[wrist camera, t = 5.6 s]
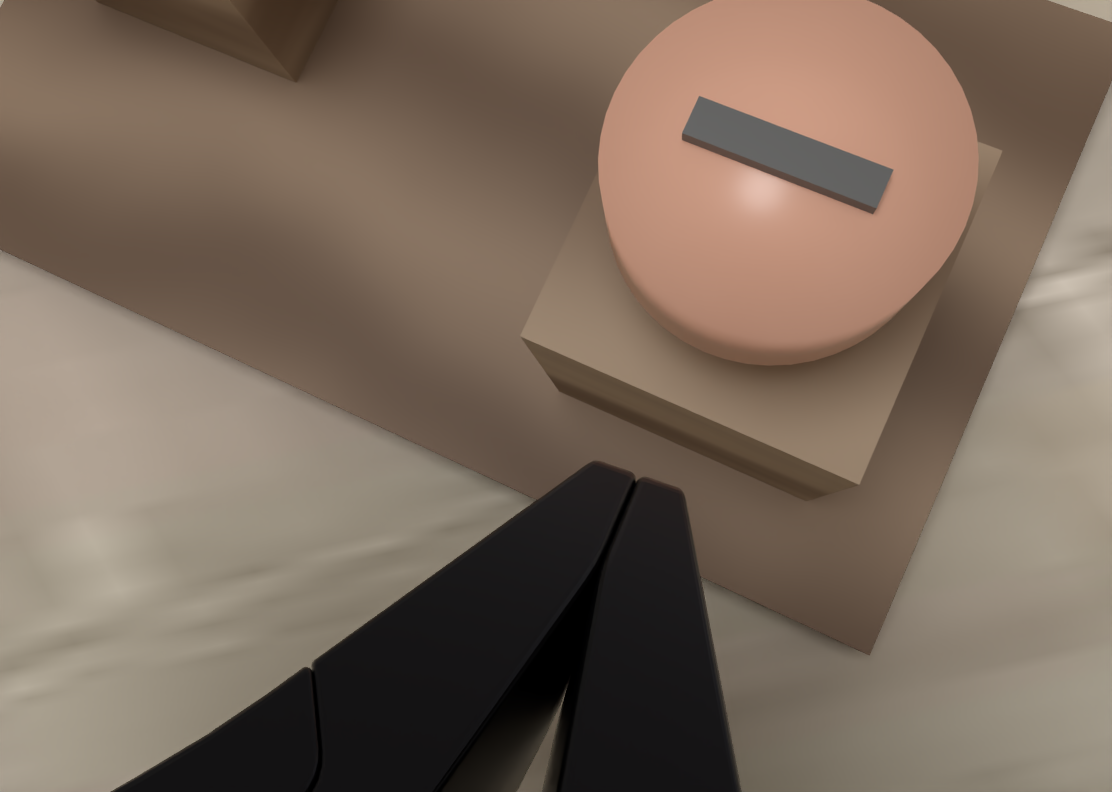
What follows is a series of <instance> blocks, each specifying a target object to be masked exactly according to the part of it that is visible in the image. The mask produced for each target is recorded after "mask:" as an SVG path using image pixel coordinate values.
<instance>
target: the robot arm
mask: <svg viewBox="0 0 1112 792" xmlns="http://www.w3.org/2000/svg"><path fill="white" fill-rule="evenodd" d="M566 689H567V690H566ZM565 691H566V693H565ZM564 694H565V697H564V701H563V704H562V708H561V712H560V716H559V720H558V724H557V728H556V732H555V736H554V741H553V745H552V750H551V754H550V759H549V763H548V768H547V772H546V777H545V781H544V786H543V790H542V792H742V791H741V786H740V781H739V775H738V770H737V765H736V760H735V754H734V749H733V744H732V739H731V733H730V728H729V723H728V718H727V712H726V707H725V702H724V697H723V692H722V686H721V681H720V676H719V671H718V665H717V660H716V655H715V650H714V644H713V639H712V634H711V629H710V623H709V618H708V613H707V608H706V602H705V597H704V592H703V587H702V581H701V576H700V571H699V566H698V561H697V555H696V550H695V545H694V540H693V534H692V529H691V524H690V519H689V513H688V508H687V503H686V498H685V495H684V493H683V491H682V490H681V489H680V488H678V487H675V486H672V485H669V484H666V483H663V482H661V481H658V480H655V479H652V478H649V477H641V478H639V479H638V480H637V482H636V477H635V475H634V474H633V472H631V471H628V470H625V469H622V468H619V467H616V466H613V465H611V464H608V463H605V462H602V461H592V462H590V463H588V464H586V465H585V466H584V467H582V468H581V469H579V470H578V471H577V472H575V473H574V474H572V475H571V476H570V477H568V478H567V479H566V480H564V481H563V482H561V483H560V484H559V485H557V486H556V487H554V488H553V489H552V490H550V491H549V492H547V493H546V494H545V495H543V496H542V497H541V498H539V499H538V500H536V501H535V502H534V503H532V504H531V505H529V506H528V507H527V508H525V509H524V510H522V511H521V512H520V513H518V514H517V515H516V516H514V517H513V518H511V519H510V520H509V521H507V522H506V523H504V524H503V525H502V526H500V527H499V528H497V529H496V530H495V531H493V532H492V533H491V534H489V535H488V536H486V537H485V538H484V539H482V540H481V541H479V542H478V543H477V544H475V545H474V546H472V547H471V548H470V549H468V550H467V551H466V552H464V553H463V554H461V555H460V556H459V557H457V558H456V559H454V560H453V561H452V562H450V563H449V564H447V565H446V566H445V567H443V568H442V569H441V570H439V571H438V572H436V573H435V574H434V575H432V576H431V577H429V578H428V579H427V580H425V581H424V582H422V583H421V584H420V585H418V586H417V587H416V588H414V589H413V590H411V591H410V592H409V593H407V594H406V595H404V596H403V597H402V598H400V599H399V600H397V601H396V602H395V603H393V604H392V605H391V606H389V607H388V608H386V609H385V610H384V611H382V612H381V613H379V614H378V615H377V616H375V617H374V618H372V619H371V620H370V621H368V622H367V623H366V624H364V625H363V626H361V627H360V628H359V629H357V630H356V631H354V632H353V633H352V634H350V635H349V636H347V637H346V638H345V639H343V640H342V641H340V642H339V643H338V644H336V645H335V646H334V647H332V648H331V649H329V650H328V651H327V652H325V653H324V654H322V655H321V656H320V657H318V658H317V659H315V660H314V661H313V663H312V670H311V669H310V668H308V667H304V668H302V669H301V670H299V671H298V672H297V673H295V674H294V675H293V676H291V677H290V678H288V679H287V680H286V681H284V682H283V683H281V684H280V685H279V686H277V687H276V688H275V689H273V690H272V691H270V692H269V693H268V694H266V695H265V696H263V697H262V698H260V699H259V700H258V701H256V702H255V703H253V704H252V705H250V706H249V707H247V708H246V709H244V710H243V711H241V712H240V713H238V714H237V715H235V716H234V717H232V718H231V719H229V720H228V721H226V722H225V723H223V724H222V725H221V726H219V727H218V728H216V729H215V730H213V731H212V732H210V733H209V734H207V735H206V736H204V737H202V738H201V739H199V740H197V741H196V742H194V743H192V744H191V745H189V746H187V747H186V748H184V749H182V750H181V751H179V752H177V753H176V754H174V755H172V756H171V757H169V758H167V759H166V760H164V761H162V762H161V763H159V764H157V765H156V766H154V767H152V768H151V769H149V770H147V771H146V772H144V773H142V774H141V775H139V776H137V777H135V778H134V779H132V780H130V781H128V782H127V783H125V784H123V785H121V786H120V787H118V788H116V789H114V790H113V791H111V792H517V790H518V788H519V786H520V784H521V782H522V780H523V778H524V776H525V774H526V772H527V770H528V768H529V766H530V765H531V763H532V761H533V759H534V757H535V755H536V753H537V751H538V749H539V747H540V745H541V743H542V741H543V739H544V737H545V735H546V733H547V731H548V729H549V727H550V725H551V723H552V721H553V719H554V717H555V715H556V713H557V710H558V708H559V706H560V704H561V701H562V699H563V696H564Z"/></svg>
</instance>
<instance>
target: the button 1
mask: <svg viewBox="0 0 1112 792" xmlns="http://www.w3.org/2000/svg"><path fill="white" fill-rule="evenodd" d="M978 164H979V153H978V143H977V133H976V129H975V125H974V120H973V116H972V112H971V109H970V106H969V104H968V101H967V99H966V96H965V94H964V91H963V89H962V87H961V85H960V83H959V82H958V80H957V78H956V76H955V75H954V73H953V71H952V69H951V68H950V66H949V65H948V64H947V62H946V61H945V60H944V58H943V57H942V56H941V55H940V53H939V52H938V51H937V49H936V48H935V47H934V46H933V45H932V44H931V43H930V42H929V41H928V40H927V39H926V38H925V37H924V36H923V35H922V34H921V33H920V32H919V31H917V30H916V29H915V28H913V27H912V26H911V25H909V24H908V23H907V22H905V21H904V20H903V19H902V18H900V17H898V16H897V15H895V14H893V13H892V12H890V11H888V10H886V9H885V8H883V7H881V6H879V5H877V4H875V3H872V2H870V1H868V0H713V1H710V2H708V3H706V4H704V5H702V6H700V7H698V8H696V9H693V10H692V11H690V12H689V13H687V14H686V15H684V16H682V17H681V18H679V19H678V20H676V21H674V22H673V23H672V24H671V25H669V26H668V27H667V28H666V29H664V30H663V31H662V32H661V33H659V34H658V35H657V36H656V37H655V38H654V39H653V40H652V41H651V42H650V43H649V44H648V45H647V46H646V47H645V48H644V49H643V50H642V51H641V52H640V53H639V55H638V56H637V57H636V59H635V60H634V61H633V63H632V64H631V65H630V67H629V68H628V70H627V71H626V72H625V74H624V76H623V78H622V79H621V81H620V83H619V85H618V87H617V88H616V90H615V92H614V94H613V97H612V100H611V102H610V105H609V107H608V110H607V112H606V115H605V119H604V124H603V128H602V132H601V136H600V145H599V154H598V172H599V185H600V191H601V197H602V203H603V208H604V214H605V219H606V224H607V229H608V235H609V240H610V245H611V248H612V251H613V254H614V257H615V261H616V264H617V266H618V268H619V270H620V272H621V274H622V276H623V279H624V281H625V283H626V284H627V286H628V287H629V289H630V290H631V292H632V293H633V295H634V296H635V298H636V300H637V301H638V302H639V303H640V304H641V305H642V307H643V308H644V309H645V310H646V311H647V312H648V314H649V315H650V316H651V317H652V318H653V319H655V320H656V321H657V322H658V323H659V324H660V325H661V326H662V327H664V328H665V329H666V330H667V331H669V332H670V333H672V334H673V335H675V336H676V337H677V338H679V339H680V340H682V341H683V342H685V343H687V344H689V345H691V346H693V347H695V348H697V349H699V350H701V351H703V352H705V353H708V354H711V355H714V356H717V357H720V358H723V359H726V360H731V361H735V362H740V363H745V364H754V365H766V366H773V365H792V364H798V363H804V362H810V361H815V360H818V359H821V358H824V357H828V356H831V355H834V354H837V353H839V352H841V351H843V350H845V349H848V348H850V347H852V346H854V345H856V344H858V343H859V342H861V341H863V340H864V339H866V338H867V337H869V336H871V335H872V334H874V333H875V332H876V331H878V330H879V329H880V328H881V327H882V326H884V325H885V324H886V323H887V322H889V321H890V320H891V319H892V318H893V317H894V316H895V315H896V314H897V313H898V312H899V311H900V310H901V309H902V308H903V307H904V306H905V305H906V304H907V303H908V302H909V301H910V300H911V299H912V298H913V297H914V296H915V295H916V294H917V293H918V292H919V291H920V290H921V289H922V288H923V287H924V286H925V284H926V283H927V282H928V281H929V280H930V279H931V278H932V277H933V276H934V275H935V274H936V273H937V272H938V271H939V269H940V268H941V267H942V265H943V264H944V262H945V261H946V260H947V258H948V257H949V255H950V254H951V252H952V251H953V250H954V248H955V246H956V244H957V242H958V240H959V238H960V236H961V234H962V232H963V230H964V228H965V226H966V223H967V220H968V218H969V215H970V212H971V209H972V206H973V202H974V197H975V192H976V187H977V182H978Z"/></svg>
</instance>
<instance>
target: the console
mask: <svg viewBox="0 0 1112 792" xmlns="http://www.w3.org/2000/svg"><path fill="white" fill-rule="evenodd" d="M710 1H713V0H4V2H3V4H2V6H1V7H0V249H1V250H3V251H5V252H7V253H9V254H11V255H14V256H16V257H18V258H20V259H22V260H24V261H26V262H29V263H31V264H33V265H35V266H37V267H39V268H41V269H44V270H46V271H48V272H50V273H52V274H54V275H56V276H59V277H61V278H63V279H65V280H67V281H69V282H71V283H74V284H76V285H78V286H80V287H82V288H84V289H86V290H89V291H91V292H93V293H95V294H97V295H99V296H101V297H104V298H106V299H108V300H110V301H112V302H114V303H116V304H118V305H121V306H123V307H125V308H127V309H129V310H131V311H133V312H136V313H138V314H140V315H142V316H144V317H146V318H148V319H151V320H153V321H155V322H157V323H159V324H161V325H163V326H166V327H168V328H170V329H172V330H174V331H176V332H178V333H181V334H183V335H185V336H187V337H189V338H191V339H193V340H196V341H198V342H200V343H202V344H204V345H206V346H208V347H211V348H213V349H215V350H217V351H219V352H221V353H223V354H225V355H228V356H230V357H232V358H234V359H236V360H238V361H240V362H243V363H245V364H247V365H249V366H251V367H253V368H255V369H258V370H260V371H262V372H264V373H266V374H268V375H270V376H273V377H275V378H277V379H279V380H281V381H283V382H285V383H288V384H290V385H292V386H294V387H296V388H298V389H300V390H303V391H305V392H307V393H309V394H311V395H313V396H315V397H317V398H320V399H322V400H324V401H326V402H328V403H330V404H332V405H335V406H337V407H339V408H341V409H343V410H345V411H347V412H350V413H352V414H354V415H356V416H358V417H360V418H362V419H365V420H367V421H369V422H371V423H373V424H375V425H377V426H380V427H382V428H384V429H386V430H388V431H390V432H392V433H395V434H397V435H399V436H401V437H403V438H405V439H407V440H410V441H412V442H414V443H416V444H418V445H420V446H422V447H424V448H427V449H429V450H431V451H433V452H435V453H437V454H439V455H442V456H444V457H446V458H448V459H450V460H452V461H454V462H457V463H459V464H461V465H463V466H465V467H467V468H469V469H472V470H474V471H476V472H478V473H480V474H482V475H484V476H487V477H489V478H491V479H493V480H495V481H497V482H499V483H502V484H504V485H506V486H508V487H510V488H512V489H514V490H517V491H519V492H521V493H523V494H525V495H527V496H529V497H531V498H534V499H536V500H538V499H539V498H541V497H542V496H543V495H545V494H546V493H547V492H549V491H550V490H552V489H553V488H554V487H556V486H557V485H559V484H560V483H561V482H563V481H564V480H566V479H567V478H568V477H570V476H571V475H572V474H574V473H575V472H577V471H578V470H579V469H581V468H582V467H584V466H585V465H586V464H588V463H590V462H592V461H602V462H605V463H608V464H611V465H613V466H616V467H619V468H622V469H625V470H628V471H631V472H633V474H634V475H635V477H636V482H637V480H638V479H639V478H641V477H649V478H652V479H655V480H658V481H661V482H663V483H666V484H669V485H672V486H675V487H678V488H680V489H681V490H682V491H683V493H684V495H685V498H686V503H687V508H688V513H689V519H690V524H691V529H692V534H693V540H694V545H695V550H696V555H697V561H698V566H699V571H700V576H701V577H703V578H705V579H707V580H709V581H711V582H713V583H716V584H718V585H720V586H722V587H724V588H726V589H728V590H730V591H733V592H735V593H737V594H739V595H741V596H743V597H745V598H748V599H750V600H752V601H754V602H756V603H758V604H760V605H763V606H765V607H767V608H769V609H771V610H773V611H775V612H778V613H780V614H782V615H784V616H786V617H788V618H790V619H793V620H795V621H797V622H799V623H801V624H803V625H805V626H808V627H810V628H812V629H814V630H816V631H818V632H820V633H823V634H825V635H827V636H829V637H831V638H833V639H835V640H837V641H840V642H842V643H844V644H846V645H848V646H850V647H852V648H855V649H857V650H859V651H861V652H863V653H865V654H867V655H870V653H871V651H872V649H873V646H874V644H875V641H876V639H877V637H878V634H879V632H880V630H881V627H882V625H883V622H884V620H885V618H886V615H887V613H888V611H889V608H890V606H891V603H892V601H893V599H894V596H895V594H896V592H897V589H898V587H899V584H900V582H901V580H902V577H903V575H904V573H905V570H906V568H907V565H908V563H909V561H910V558H911V556H912V554H913V551H914V549H915V546H916V544H917V542H918V539H919V537H920V535H921V532H922V530H923V528H924V525H925V523H926V520H927V518H928V516H929V513H930V511H931V509H932V506H933V504H934V501H935V499H936V497H937V494H938V492H939V490H940V487H941V485H942V482H943V480H944V478H945V475H946V473H947V471H948V468H949V466H950V463H951V461H952V459H953V456H954V454H955V452H956V449H957V447H958V444H959V442H960V440H961V437H962V435H963V433H964V430H965V428H966V425H967V423H968V421H969V418H970V416H971V414H972V411H973V409H974V406H975V404H976V402H977V399H978V397H979V395H980V392H981V390H982V387H983V385H984V383H985V380H986V378H987V376H988V373H989V371H990V368H991V366H992V364H993V361H994V359H995V357H996V354H997V352H998V349H999V347H1000V345H1001V342H1002V340H1003V338H1004V335H1005V333H1006V330H1007V328H1008V326H1009V323H1010V321H1011V319H1012V316H1013V314H1014V311H1015V309H1016V307H1017V304H1018V302H1019V300H1020V297H1021V295H1022V293H1023V290H1024V288H1025V285H1026V283H1027V281H1028V278H1029V276H1030V274H1031V271H1032V269H1033V266H1034V264H1035V262H1036V259H1037V257H1038V255H1039V252H1040V250H1041V247H1042V245H1043V243H1044V240H1045V238H1046V236H1047V233H1048V231H1049V228H1050V226H1051V224H1052V221H1053V219H1054V217H1055V214H1056V212H1057V209H1058V207H1059V205H1060V202H1061V200H1062V198H1063V195H1064V193H1065V190H1066V188H1067V186H1068V183H1069V181H1070V179H1071V176H1072V174H1073V171H1074V169H1075V167H1076V164H1077V162H1078V160H1079V157H1080V155H1081V152H1082V150H1083V148H1084V145H1085V143H1086V141H1087V138H1088V136H1089V133H1090V131H1091V129H1092V126H1093V124H1094V122H1095V119H1096V117H1097V114H1098V112H1099V110H1100V107H1101V105H1102V103H1103V100H1104V98H1105V95H1106V93H1107V91H1108V88H1109V86H1110V84H1111V81H1112V22H1109V21H1106V20H1103V19H1100V18H1098V17H1095V16H1092V15H1089V14H1086V13H1083V12H1080V11H1077V10H1074V9H1071V8H1068V7H1065V6H1062V5H1059V4H1056V3H1054V2H1051V1H1048V0H868V1H870V2H872V3H875V4H877V5H879V6H881V7H883V8H885V9H886V10H888V11H890V12H892V13H893V14H895V15H897V16H898V17H900V18H902V19H903V20H904V21H905V22H907V23H908V24H909V25H911V26H912V27H913V28H915V29H916V30H917V31H919V32H920V33H921V34H922V35H923V36H924V37H925V38H926V39H927V40H928V41H929V42H930V43H931V44H932V45H933V46H934V47H935V48H936V49H937V51H938V52H939V53H940V55H941V56H942V57H943V58H944V60H945V61H946V62H947V64H948V65H949V66H950V68H951V69H952V71H953V73H954V75H955V76H956V78H957V80H958V82H959V83H960V85H961V87H962V89H963V91H964V94H965V96H966V99H967V101H968V104H969V106H970V109H971V112H972V116H973V120H974V125H975V129H976V133H977V143H978V153H979V164H978V182H977V187H976V192H975V197H974V202H973V206H972V209H971V212H970V215H969V218H968V220H967V223H966V226H965V228H964V230H963V232H962V234H961V236H960V238H959V240H958V242H957V244H956V246H955V248H954V250H953V251H952V252H951V254H950V255H949V257H948V258H947V260H946V261H945V262H944V264H943V265H942V267H941V268H940V269H939V271H938V272H937V273H936V274H935V275H934V276H933V277H932V278H931V279H930V280H929V281H928V282H927V283H926V284H925V286H924V287H923V288H922V289H921V290H920V291H919V292H918V293H917V294H916V295H915V296H914V297H913V298H912V299H911V300H910V301H909V302H908V303H907V304H906V305H905V306H904V307H903V308H902V309H901V310H900V311H899V312H898V313H897V314H896V315H895V316H894V317H893V318H892V319H891V320H890V321H889V322H887V323H886V324H885V325H884V326H882V327H881V328H880V329H879V330H878V331H876V332H875V333H874V334H872V335H871V336H869V337H867V338H866V339H864V340H863V341H861V342H859V343H858V344H856V345H854V346H852V347H850V348H848V349H845V350H843V351H841V352H839V353H837V354H834V355H831V356H828V357H824V358H821V359H818V360H815V361H810V362H804V363H798V364H792V365H773V366H766V365H754V364H745V363H740V362H735V361H731V360H726V359H723V358H720V357H717V356H714V355H711V354H708V353H705V352H703V351H701V350H699V349H697V348H695V347H693V346H691V345H689V344H687V343H685V342H683V341H682V340H680V339H679V338H677V337H676V336H675V335H673V334H672V333H670V332H669V331H667V330H666V329H665V328H664V327H662V326H661V325H660V324H659V323H658V322H657V321H656V320H655V319H653V318H652V317H651V316H650V315H649V314H648V312H647V311H646V310H645V309H644V308H643V307H642V305H641V304H640V303H639V302H638V301H637V300H636V298H635V296H634V295H633V293H632V292H631V290H630V289H629V287H628V286H627V284H626V283H625V281H624V279H623V276H622V274H621V272H620V270H619V268H618V266H617V264H616V261H615V257H614V254H613V251H612V248H611V245H610V240H609V235H608V229H607V224H606V219H605V214H604V208H603V203H602V197H601V191H600V185H599V172H598V154H599V145H600V136H601V132H602V128H603V124H604V119H605V115H606V112H607V110H608V107H609V105H610V102H611V100H612V97H613V94H614V92H615V90H616V88H617V87H618V85H619V83H620V81H621V79H622V78H623V76H624V74H625V72H626V71H627V70H628V68H629V67H630V65H631V64H632V63H633V61H634V60H635V59H636V57H637V56H638V55H639V53H640V52H641V51H642V50H643V49H644V48H645V47H646V46H647V45H648V44H649V43H650V42H651V41H652V40H653V39H654V38H655V37H656V36H657V35H658V34H659V33H661V32H662V31H663V30H664V29H666V28H667V27H668V26H669V25H671V24H672V23H673V22H674V21H676V20H678V19H679V18H681V17H682V16H684V15H686V14H687V13H689V12H690V11H692V10H693V9H696V8H698V7H700V6H702V5H704V4H706V3H708V2H710Z"/></svg>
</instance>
